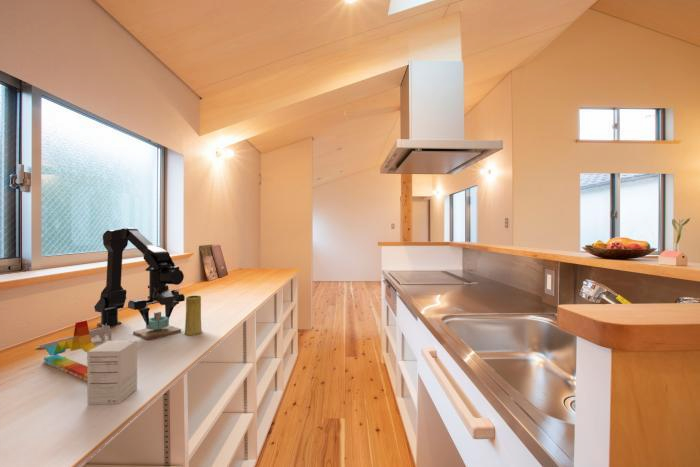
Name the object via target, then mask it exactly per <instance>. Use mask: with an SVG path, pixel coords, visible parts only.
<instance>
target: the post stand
mask: <svg viewBox="0 0 700 467" xmlns="http://www.w3.org/2000/svg"><path fill="white" fill-rule="evenodd" d="M161 316H162V311H156V312H154V313H153V317H154V321H157V320H161ZM132 332H133V333H132V334H133V335H135V336H137V337H139V338H142V339H144V340H148V341H151V340H156V339H159V338H163V337H167V336H171V335H174V334H178V333H181V332H182V328H179V327H175V326H174V325H170V324H169V325H168V326H167V327H165V328H161V329H147V328H146V327H145V328H142V329H138V330H134V331H132Z"/></svg>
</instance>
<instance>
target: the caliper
mask: <svg viewBox="0 0 700 467" xmlns="http://www.w3.org/2000/svg"><path fill="white" fill-rule="evenodd" d="M89 333H90V338H91V339H93V338H95V337H97V336H98V338H100V339H101V340H102V341H103V342H104V341H105V340H106V338H105V334H104V333H106V335H107V338H108V341H111V339H112V329H111V326H107V323H106V324H105V326H104V325H103V324H102V326H101V327H98V328H95V329H91V330H89ZM73 336H74V335H72V336H68V337H64V338H61V339H60V338H59V339H56V340H52V341H48V342H45V343H41V344H40V345H39V346H37V347H35V348H34V350H38V349H46V348H48V347H51V346H55V345H57V343H58V342H61V341H65V340H72V339H73ZM105 342H106V341H105Z"/></svg>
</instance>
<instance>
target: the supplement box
mask: <svg viewBox="0 0 700 467" xmlns="http://www.w3.org/2000/svg"><path fill="white" fill-rule="evenodd" d="M86 353H87V361H86V362H87V364H86V366H87V381H86V382H87V396H86V398H87V405H93V406H94V405H95V406H96V405H119V404H122V402H124V401H125V399H127V397H129V396H130V395H131V394H133V393H134V391H136V390H137V389H138V366H137V365H138V341H137V340H135V339H134V340H131V339H130V340H127V339H126V340H106V341H105V342H103V343H101V344H99V345H97V346H96V348H94V349H92V350H90V351H88V352H86Z"/></svg>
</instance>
